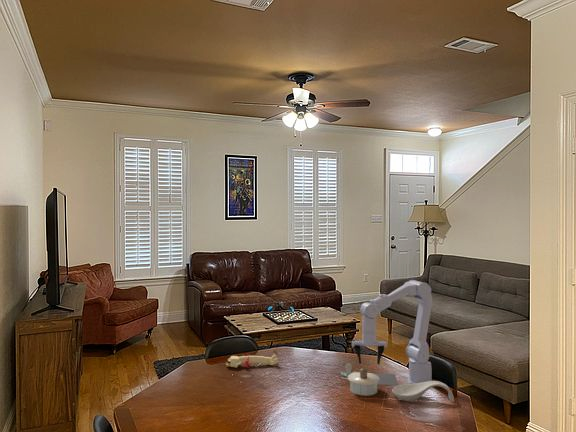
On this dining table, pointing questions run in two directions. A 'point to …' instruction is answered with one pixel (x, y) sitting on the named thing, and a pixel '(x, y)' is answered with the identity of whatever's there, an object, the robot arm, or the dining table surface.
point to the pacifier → (347, 371)
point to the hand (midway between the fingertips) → (369, 363)
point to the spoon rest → (417, 390)
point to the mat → (386, 379)
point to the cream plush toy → (252, 360)
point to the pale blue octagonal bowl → (363, 389)
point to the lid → (363, 377)
